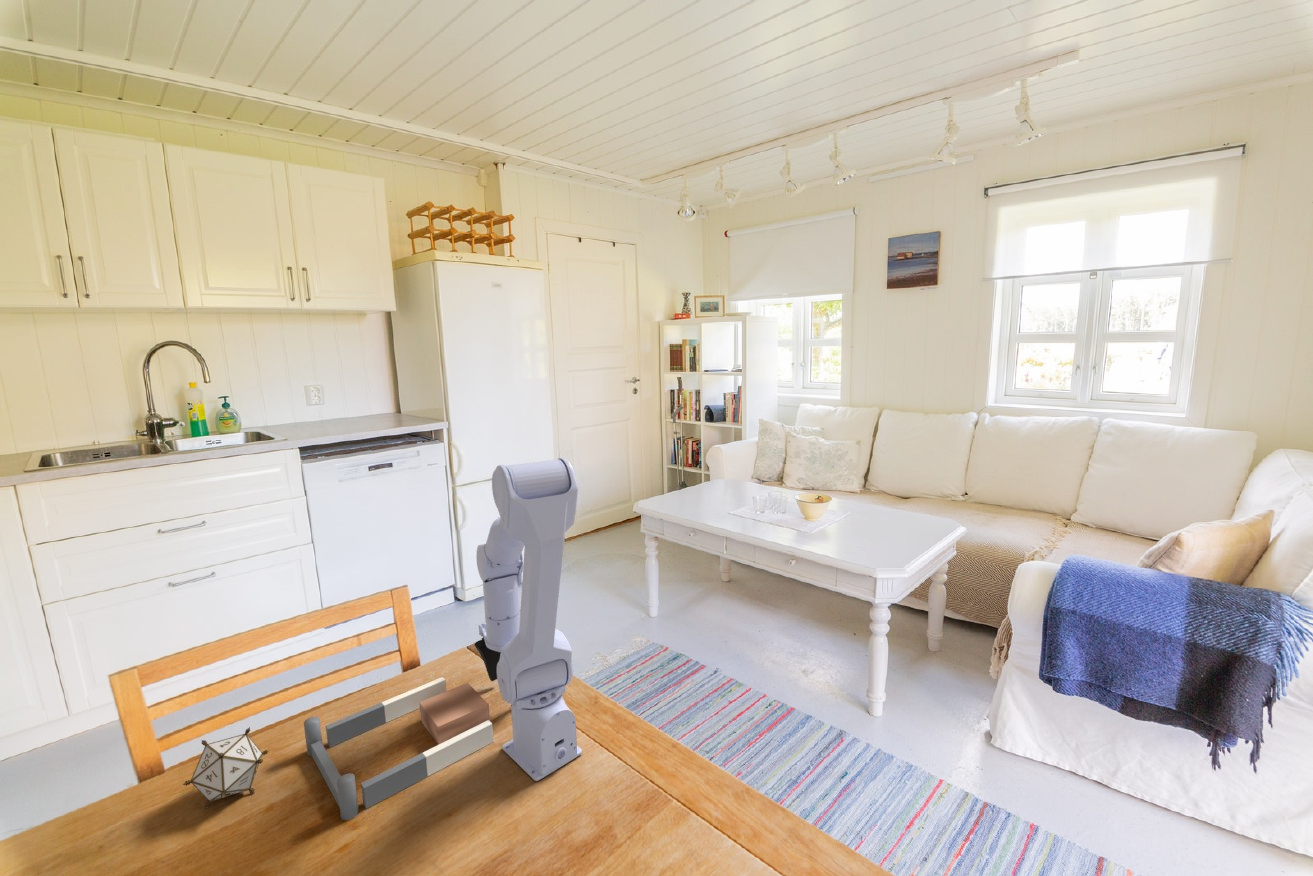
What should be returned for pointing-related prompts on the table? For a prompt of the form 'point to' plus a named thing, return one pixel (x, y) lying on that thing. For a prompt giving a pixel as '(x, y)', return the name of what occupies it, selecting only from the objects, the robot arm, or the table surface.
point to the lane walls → (450, 748)
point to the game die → (227, 767)
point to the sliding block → (453, 712)
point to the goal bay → (345, 784)
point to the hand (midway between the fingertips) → (507, 687)
